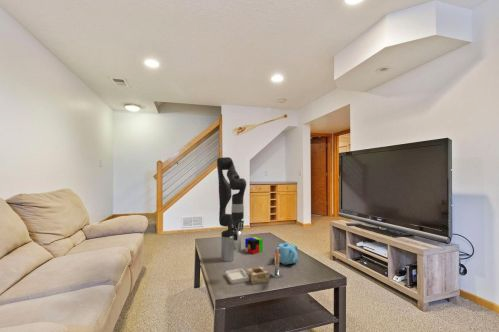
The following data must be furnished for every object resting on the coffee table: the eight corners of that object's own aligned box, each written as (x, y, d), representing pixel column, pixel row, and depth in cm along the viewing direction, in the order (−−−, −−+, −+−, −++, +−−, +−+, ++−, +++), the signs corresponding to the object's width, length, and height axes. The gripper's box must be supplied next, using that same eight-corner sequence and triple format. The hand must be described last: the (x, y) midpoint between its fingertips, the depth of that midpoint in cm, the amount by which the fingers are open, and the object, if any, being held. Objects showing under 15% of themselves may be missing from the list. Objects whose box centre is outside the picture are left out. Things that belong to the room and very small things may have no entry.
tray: (225, 274, 143) (225, 271, 143) (242, 272, 147) (242, 268, 147) (231, 284, 131) (231, 280, 131) (249, 281, 135) (249, 276, 135)
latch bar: (273, 265, 130) (273, 248, 130) (273, 255, 145) (273, 240, 146) (280, 265, 129) (280, 248, 129) (280, 255, 145) (280, 240, 145)
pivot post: (270, 274, 144) (270, 256, 145) (278, 272, 147) (278, 255, 147) (274, 278, 139) (274, 259, 139) (283, 276, 141) (283, 258, 141)
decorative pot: (271, 263, 162) (271, 244, 162) (279, 256, 176) (279, 238, 176) (293, 268, 154) (293, 248, 154) (300, 260, 168) (300, 241, 168)
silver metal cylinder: (232, 248, 141) (232, 230, 141) (239, 247, 143) (239, 230, 143) (235, 250, 137) (235, 232, 137) (241, 250, 139) (241, 231, 139)
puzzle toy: (245, 251, 188) (245, 238, 188) (254, 248, 194) (254, 236, 194) (252, 254, 180) (252, 241, 180) (262, 251, 186) (262, 239, 186)
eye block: (247, 276, 141) (247, 268, 141) (261, 274, 144) (261, 266, 144) (253, 284, 131) (253, 275, 131) (269, 281, 135) (269, 272, 135)
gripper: (238, 213, 133) (237, 243, 132) (247, 209, 146) (247, 236, 145) (226, 212, 136) (226, 241, 135) (237, 208, 149) (237, 235, 148)
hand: (237, 238), depth 140 cm, fingers closed on silver metal cylinder, 4 cm apart
